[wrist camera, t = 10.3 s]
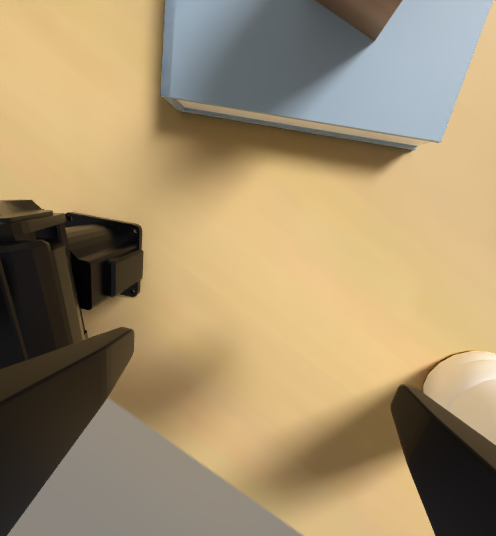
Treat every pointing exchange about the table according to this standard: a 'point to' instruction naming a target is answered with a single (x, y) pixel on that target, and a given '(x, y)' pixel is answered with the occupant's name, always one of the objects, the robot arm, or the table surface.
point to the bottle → (467, 389)
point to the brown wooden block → (363, 13)
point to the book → (321, 66)
